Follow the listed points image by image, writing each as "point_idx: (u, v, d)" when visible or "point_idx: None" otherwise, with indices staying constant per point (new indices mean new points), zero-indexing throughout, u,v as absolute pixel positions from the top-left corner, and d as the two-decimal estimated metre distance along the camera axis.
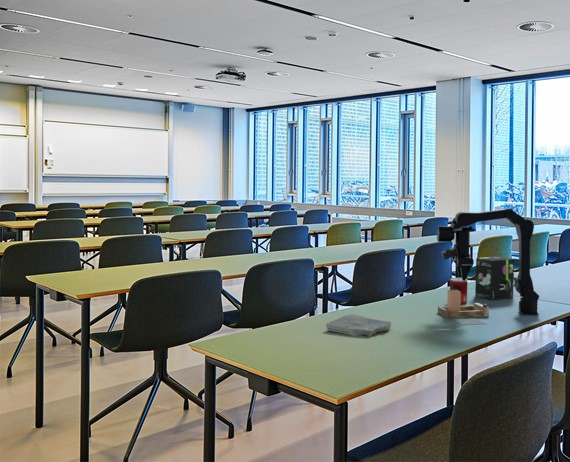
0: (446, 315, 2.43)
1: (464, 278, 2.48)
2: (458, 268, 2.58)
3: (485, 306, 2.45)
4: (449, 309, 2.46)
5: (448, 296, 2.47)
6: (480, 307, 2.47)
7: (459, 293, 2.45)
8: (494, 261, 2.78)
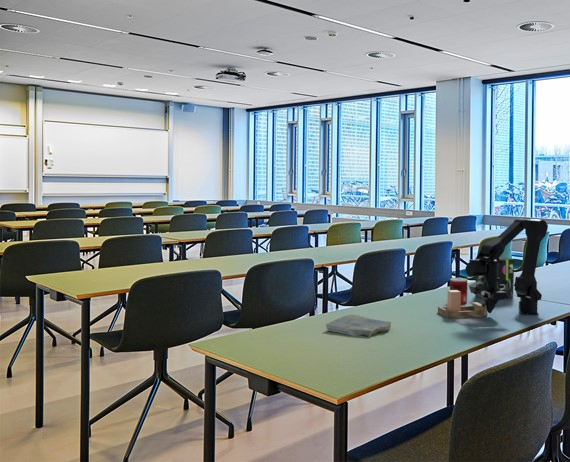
0: (446, 315, 2.43)
1: (490, 310, 2.44)
2: None
3: (483, 305, 2.46)
4: (449, 309, 2.46)
5: (448, 296, 2.47)
6: (479, 306, 2.48)
7: (459, 293, 2.45)
8: None
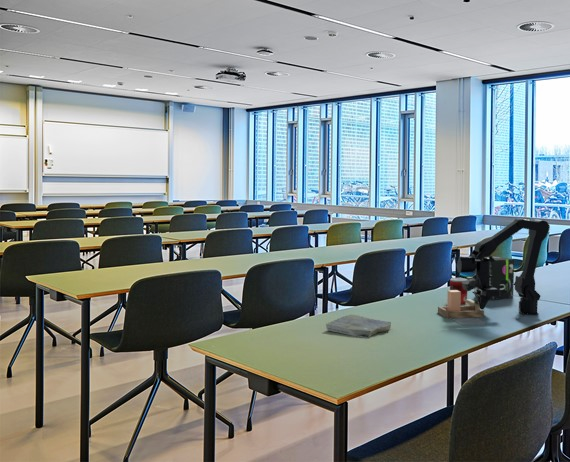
0: (446, 315, 2.43)
1: (483, 307, 2.50)
2: None
3: (476, 302, 2.52)
4: (449, 309, 2.46)
5: (448, 296, 2.47)
6: (471, 303, 2.55)
7: (459, 293, 2.45)
8: None
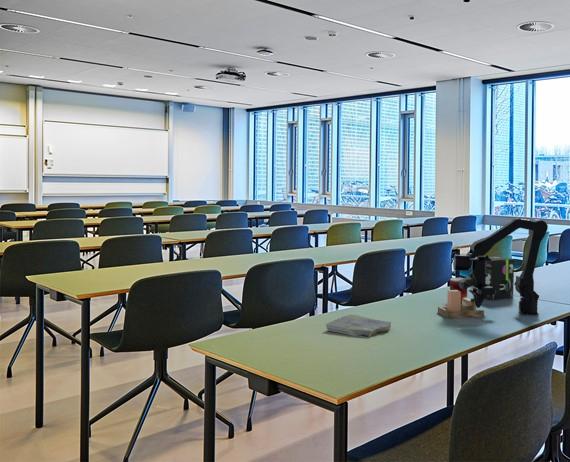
0: (446, 315, 2.43)
1: (479, 305, 2.53)
2: None
3: (472, 300, 2.56)
4: (449, 309, 2.46)
5: (448, 296, 2.47)
6: (468, 301, 2.58)
7: (459, 293, 2.45)
8: (494, 261, 2.78)
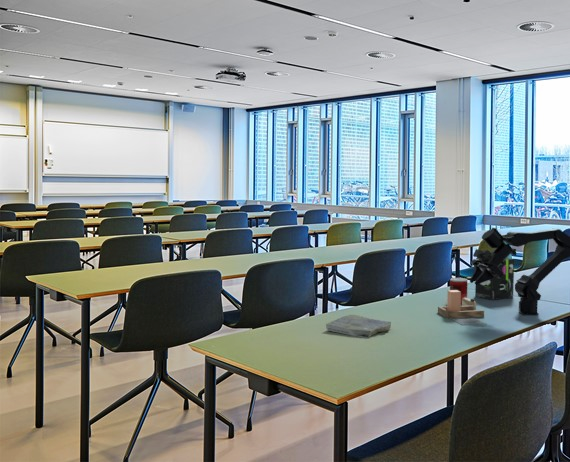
0: (446, 315, 2.43)
1: (477, 282, 2.45)
2: (475, 274, 2.50)
3: (472, 300, 2.56)
4: (449, 309, 2.46)
5: (448, 296, 2.47)
6: (468, 301, 2.58)
7: (459, 293, 2.45)
8: None
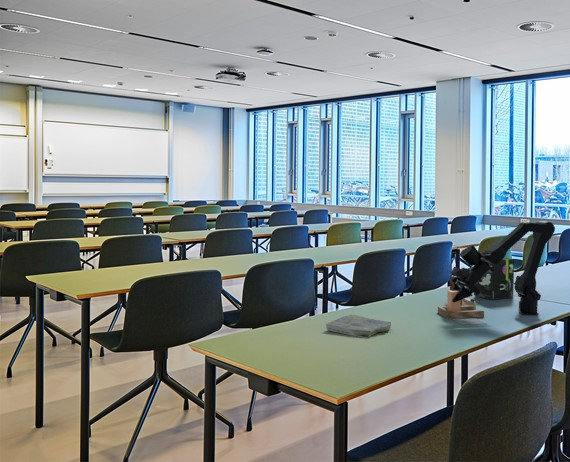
0: (446, 315, 2.43)
1: (455, 300, 2.44)
2: None
3: (472, 300, 2.56)
4: (449, 309, 2.46)
5: (448, 296, 2.47)
6: (468, 301, 2.58)
7: None
8: None
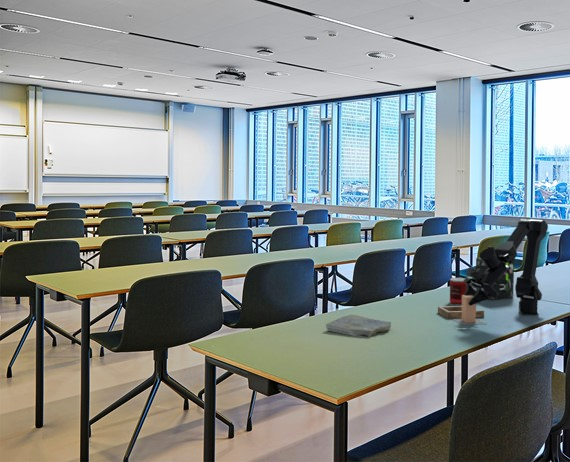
0: (446, 315, 2.43)
1: (471, 303, 2.32)
2: (467, 293, 2.38)
3: None
4: (464, 315, 2.35)
5: (463, 301, 2.36)
6: None
7: None
8: None
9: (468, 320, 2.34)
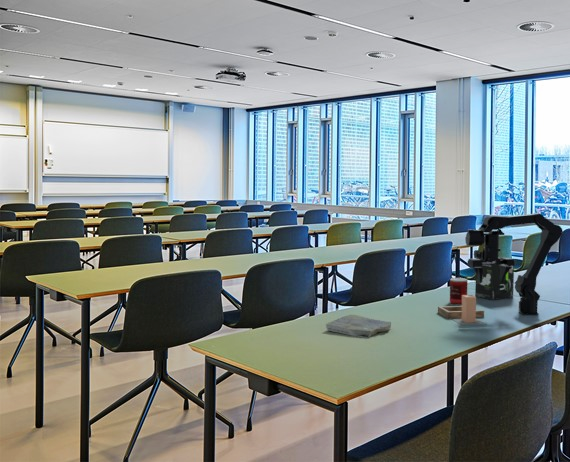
0: (446, 315, 2.43)
1: (479, 280, 2.50)
2: (500, 273, 2.52)
3: None
4: (464, 315, 2.35)
5: (463, 301, 2.36)
6: None
7: (474, 298, 2.33)
8: None
9: (468, 320, 2.34)
